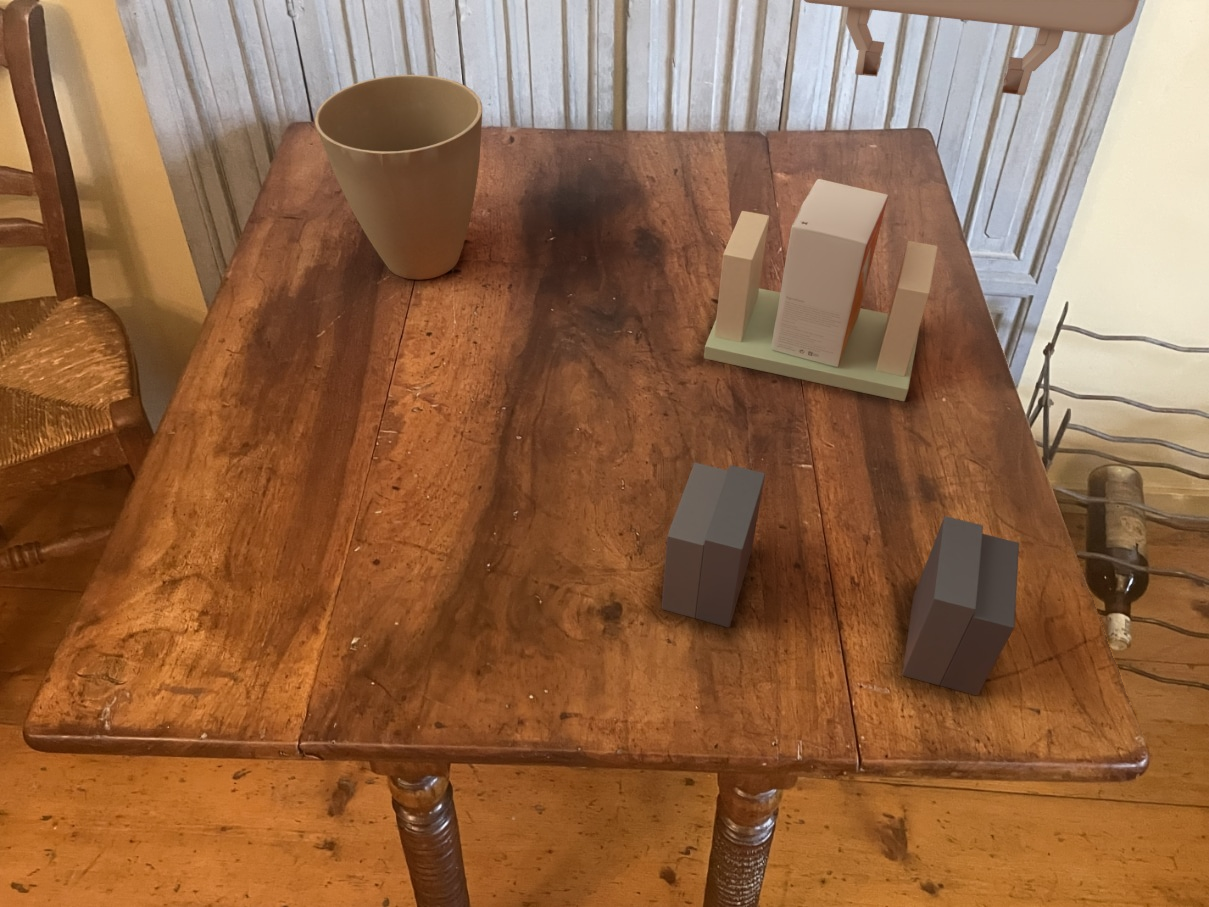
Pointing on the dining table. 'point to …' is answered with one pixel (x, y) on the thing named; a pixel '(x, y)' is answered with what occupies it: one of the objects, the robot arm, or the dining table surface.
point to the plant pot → (407, 166)
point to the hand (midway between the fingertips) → (938, 81)
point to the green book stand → (875, 342)
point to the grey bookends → (942, 603)
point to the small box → (827, 270)
